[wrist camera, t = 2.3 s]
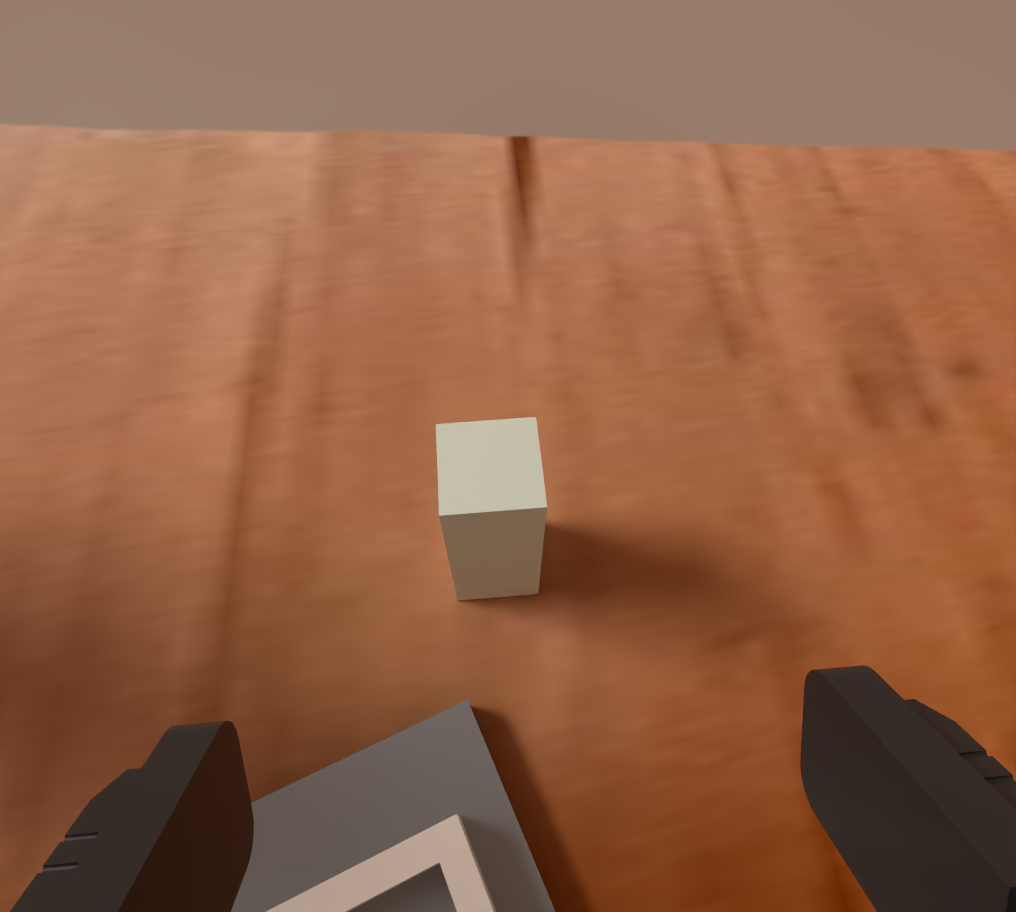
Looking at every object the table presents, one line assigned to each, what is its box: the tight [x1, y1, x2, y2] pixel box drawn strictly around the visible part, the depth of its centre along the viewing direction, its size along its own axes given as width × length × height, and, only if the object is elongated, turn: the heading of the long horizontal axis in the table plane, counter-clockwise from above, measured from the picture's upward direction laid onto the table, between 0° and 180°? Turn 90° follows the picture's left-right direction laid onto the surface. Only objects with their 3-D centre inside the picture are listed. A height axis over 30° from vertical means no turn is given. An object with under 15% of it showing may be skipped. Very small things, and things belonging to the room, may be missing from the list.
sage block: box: [436, 417, 547, 601], centre depth 31 cm, size 4×4×10 cm
